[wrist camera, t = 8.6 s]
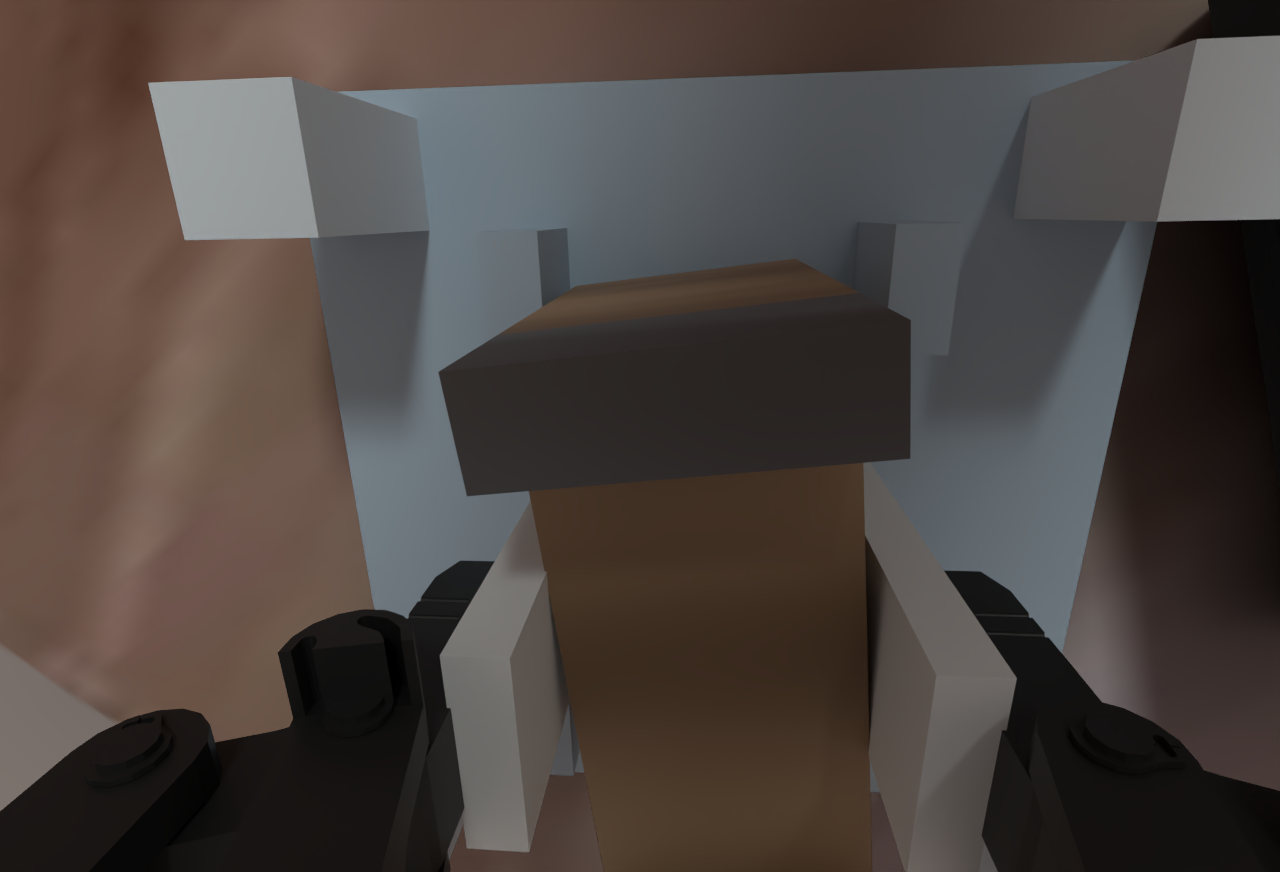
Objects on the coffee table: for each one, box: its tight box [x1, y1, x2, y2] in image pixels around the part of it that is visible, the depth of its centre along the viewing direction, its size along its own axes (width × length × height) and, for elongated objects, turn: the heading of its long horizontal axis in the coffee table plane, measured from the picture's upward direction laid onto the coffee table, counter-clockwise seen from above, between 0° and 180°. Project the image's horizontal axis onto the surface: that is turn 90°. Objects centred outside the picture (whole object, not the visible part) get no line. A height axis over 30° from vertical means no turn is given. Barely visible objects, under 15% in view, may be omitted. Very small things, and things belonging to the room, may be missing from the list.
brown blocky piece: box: [438, 259, 911, 872], centre depth 9 cm, size 10×4×9 cm, turn 7°
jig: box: [148, 36, 1280, 872], centre depth 13 cm, size 16×16×5 cm
